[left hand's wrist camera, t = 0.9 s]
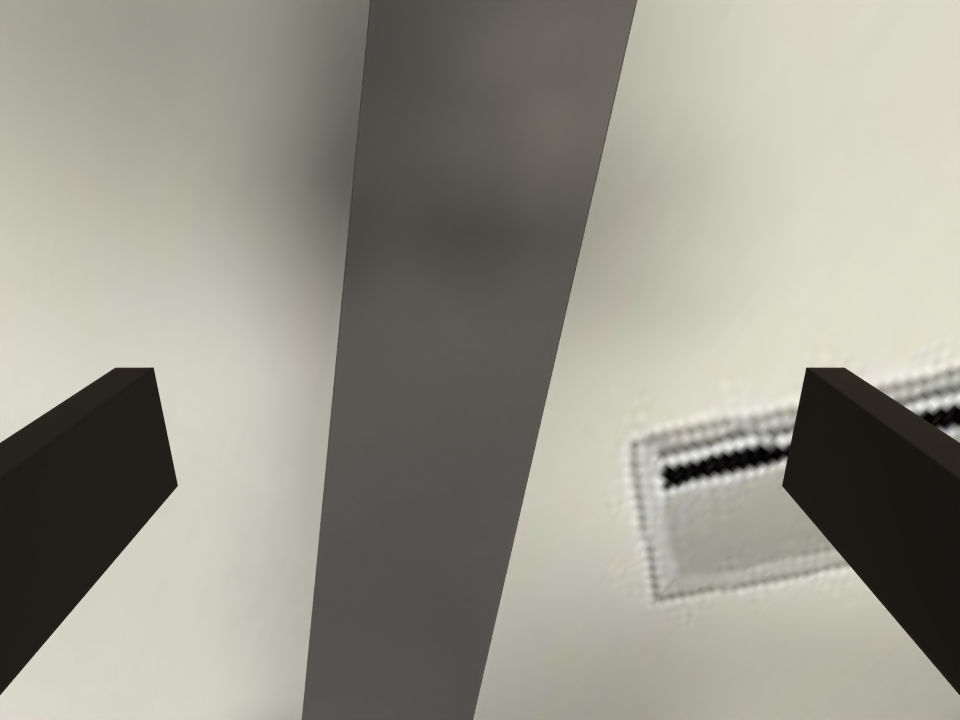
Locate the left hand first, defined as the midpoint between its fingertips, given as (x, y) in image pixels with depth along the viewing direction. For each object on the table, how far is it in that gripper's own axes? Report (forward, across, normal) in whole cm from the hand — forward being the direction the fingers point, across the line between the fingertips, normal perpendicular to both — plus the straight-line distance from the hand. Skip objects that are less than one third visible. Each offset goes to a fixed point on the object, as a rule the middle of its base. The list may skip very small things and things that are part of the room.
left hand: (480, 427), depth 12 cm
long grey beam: (+20, -3, -11) cm, 23 cm away
